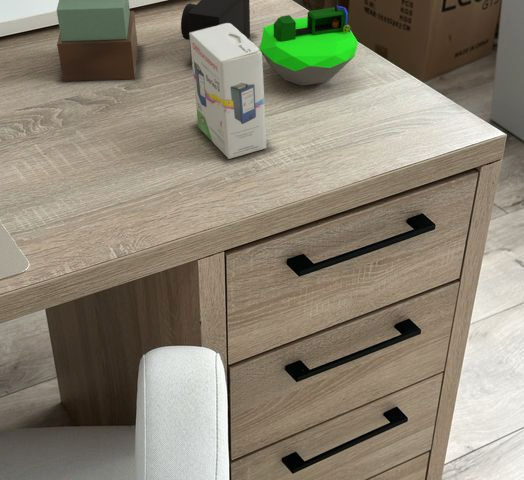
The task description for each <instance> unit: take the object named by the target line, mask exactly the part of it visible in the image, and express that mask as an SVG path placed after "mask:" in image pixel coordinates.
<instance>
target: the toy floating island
mask: <svg viewBox="0 0 524 480" xmlns="http://www.w3.org/2000/svg"><path fill="white" fill-rule="evenodd" d="M348 22H349V12H348V10H347V8H346V7H344V6H341V5H339V0H334V7H327V8H321V9H313V10H308V12H307V17H300V18H299V17H298V18H293V17H292V16H291V15H290V14H288V15H281V16H280V17H278V18H277V19H276V20H275V21H274V23H272V24H269V25H265V26H263V30H262V35H261V40H260V44H259V51H260V52H262V57H264V59H265V61H266V62H267V64H268V66H269V68H271V69H272V70H273V71H274V72H275V73H277V75H279V76H280V77H281V78H282V79H283V80H285V81H288V82H290V83H293V84H295V85H298V86H309V85H310V86H311V85H316V84H317V85H318V84H324V83H328V82H329V81H330V80H331V79H333V78H334V77H335V76H336V75H337V74H338V73H339V72H340V71H342V69H343V68H344V67H345V66H347V65H348V63H349V62H350V61H352V60H353V58H354V57H356V53H357V49H358V45H359V42H358V40H357V38H356V36H355V35H354V34H353V31H352V27H351V26H350V25H349V24H348Z"/></svg>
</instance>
